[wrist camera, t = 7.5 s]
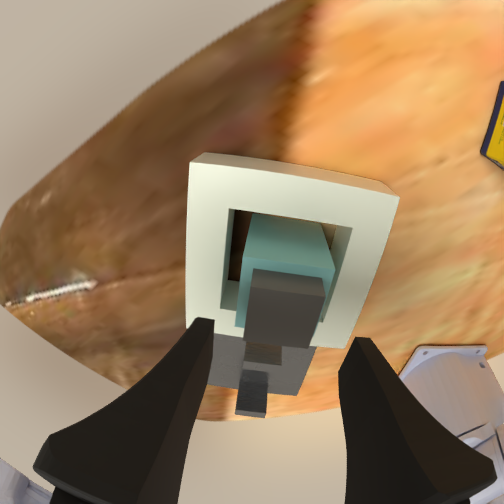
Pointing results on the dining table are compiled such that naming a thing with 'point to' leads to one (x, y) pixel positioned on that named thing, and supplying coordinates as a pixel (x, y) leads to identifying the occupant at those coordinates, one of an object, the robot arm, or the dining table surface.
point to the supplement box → (496, 132)
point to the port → (289, 205)
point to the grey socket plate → (257, 371)
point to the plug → (283, 281)
